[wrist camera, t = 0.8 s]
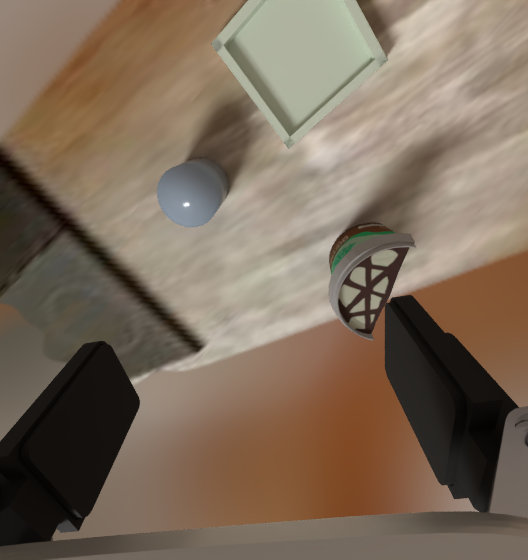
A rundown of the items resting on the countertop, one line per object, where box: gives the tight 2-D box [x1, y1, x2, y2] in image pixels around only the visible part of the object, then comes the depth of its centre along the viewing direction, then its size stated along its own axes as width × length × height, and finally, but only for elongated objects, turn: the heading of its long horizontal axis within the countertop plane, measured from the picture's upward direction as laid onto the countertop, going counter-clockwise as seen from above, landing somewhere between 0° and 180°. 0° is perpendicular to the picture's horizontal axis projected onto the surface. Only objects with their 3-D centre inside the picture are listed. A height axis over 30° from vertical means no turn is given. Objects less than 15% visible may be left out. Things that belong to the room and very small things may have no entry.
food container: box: [329, 223, 416, 340], centre depth 34 cm, size 12×6×10 cm, turn 170°
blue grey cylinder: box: [157, 157, 229, 227], centre depth 32 cm, size 6×6×7 cm
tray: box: [211, 0, 388, 148], centre depth 28 cm, size 12×12×2 cm
